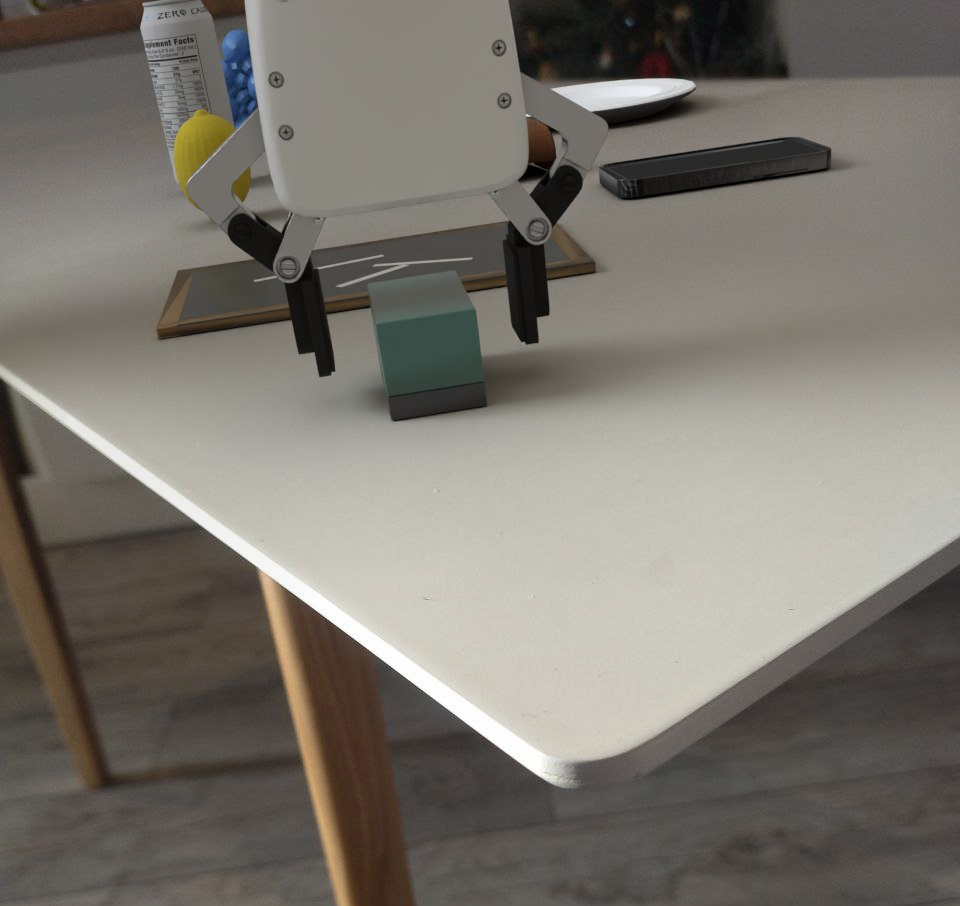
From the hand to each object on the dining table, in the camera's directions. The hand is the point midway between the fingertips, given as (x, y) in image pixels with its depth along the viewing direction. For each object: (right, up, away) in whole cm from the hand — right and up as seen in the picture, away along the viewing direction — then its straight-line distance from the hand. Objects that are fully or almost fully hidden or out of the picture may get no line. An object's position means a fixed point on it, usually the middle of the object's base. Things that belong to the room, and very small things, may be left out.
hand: (426, 349), depth 52 cm
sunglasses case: (-1, +23, +44) cm, 49 cm away
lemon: (-17, +20, +42) cm, 49 cm away
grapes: (-20, +41, +78) cm, 90 cm away
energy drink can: (-21, +28, +57) cm, 66 cm away
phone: (+19, +20, +34) cm, 44 cm away
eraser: (0, -1, +1) cm, 2 cm away
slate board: (-4, +9, +20) cm, 22 cm away
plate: (+13, +39, +68) cm, 79 cm away
